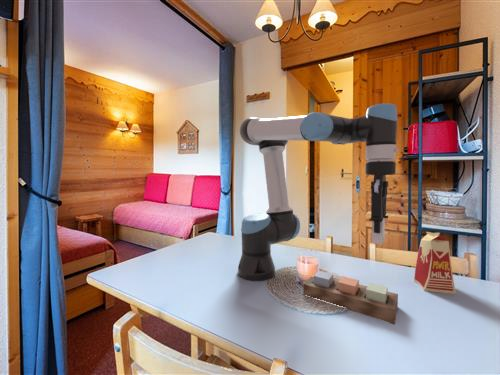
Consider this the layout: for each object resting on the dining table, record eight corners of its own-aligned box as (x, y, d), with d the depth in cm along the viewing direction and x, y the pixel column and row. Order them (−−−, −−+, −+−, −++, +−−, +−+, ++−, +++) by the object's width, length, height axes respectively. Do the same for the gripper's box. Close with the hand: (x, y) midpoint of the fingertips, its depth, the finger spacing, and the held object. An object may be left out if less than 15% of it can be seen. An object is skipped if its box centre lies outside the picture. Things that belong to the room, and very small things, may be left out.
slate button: (313, 288, 80) (313, 275, 79) (318, 282, 84) (318, 270, 83) (328, 293, 77) (328, 279, 76) (333, 286, 81) (333, 274, 80)
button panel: (303, 295, 79) (303, 283, 79) (314, 283, 87) (314, 273, 87) (394, 324, 64) (394, 310, 64) (397, 306, 72) (397, 294, 72)
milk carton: (455, 293, 79) (458, 234, 78) (424, 291, 81) (427, 233, 80) (440, 281, 88) (442, 228, 87) (412, 279, 90) (414, 227, 89)
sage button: (365, 304, 70) (366, 289, 70) (368, 296, 74) (369, 282, 74) (385, 309, 67) (385, 294, 67) (387, 301, 71) (387, 287, 71)
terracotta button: (337, 295, 75) (338, 282, 75) (342, 289, 79) (342, 276, 79) (354, 300, 72) (355, 286, 72) (358, 293, 76) (358, 280, 76)
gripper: (392, 159, 59) (389, 252, 61) (398, 161, 72) (395, 237, 74) (359, 160, 63) (358, 247, 65) (370, 161, 77) (369, 233, 78)
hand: (378, 241), depth 70 cm, fingers open, 3 cm apart
